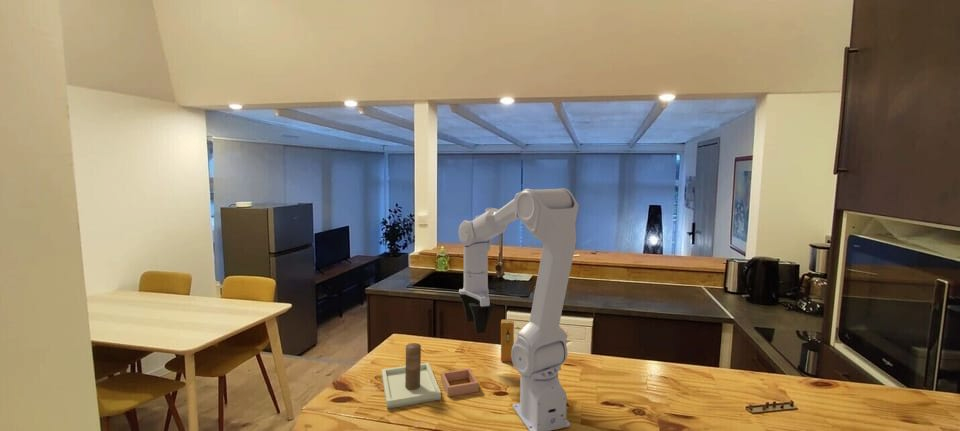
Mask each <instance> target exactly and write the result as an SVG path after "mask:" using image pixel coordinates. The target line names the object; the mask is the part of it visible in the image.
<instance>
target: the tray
mask: <svg viewBox="0 0 960 431" xmlns="http://www.w3.org/2000/svg"><path fill="white" fill-rule="evenodd" d="M405 372H406V365H403V366H396V367H390V368H382V369H381V380H382V384H383V391H384V398H385V404H386V409H387V410H389V409H395V408H400V407H401V408H402V407H405V406H411V405H416V404H418V405H419V404H422V403H429V402H435V401H441V400H442V392H441V388H440V387H439V384H438V383H437V380H436V377H435V375H434V373H433V370H432V368H431V365H430V363H429V362H424V363H422V362H421V365H420V387H419V388H418V389H415V390H409V389H407V388H406V387H405Z"/></svg>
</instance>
